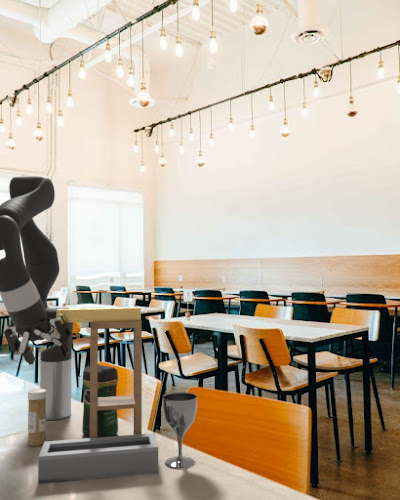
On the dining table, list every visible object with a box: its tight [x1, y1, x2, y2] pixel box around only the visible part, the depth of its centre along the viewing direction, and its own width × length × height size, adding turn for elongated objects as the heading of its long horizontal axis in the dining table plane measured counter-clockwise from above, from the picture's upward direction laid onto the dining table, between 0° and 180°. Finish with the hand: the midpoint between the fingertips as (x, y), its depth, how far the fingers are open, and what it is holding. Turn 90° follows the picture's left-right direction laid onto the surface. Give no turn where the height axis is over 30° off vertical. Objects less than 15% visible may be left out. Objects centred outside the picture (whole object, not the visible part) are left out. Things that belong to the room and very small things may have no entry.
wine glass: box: [162, 391, 198, 470], centre depth 104 cm, size 8×8×15 cm
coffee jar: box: [81, 364, 119, 438], centre depth 123 cm, size 10×8×19 cm
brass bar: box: [56, 306, 142, 323], centre depth 111 cm, size 3×20×3 cm, turn 101°
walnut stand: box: [89, 319, 143, 438], centre depth 110 cm, size 8×12×32 cm, turn 101°
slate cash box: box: [37, 432, 159, 485], centre depth 100 cm, size 9×25×6 cm, turn 101°
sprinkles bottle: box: [27, 388, 47, 447], centre depth 117 cm, size 5×5×14 cm
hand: (48, 359), depth 107 cm, fingers open, 8 cm apart
